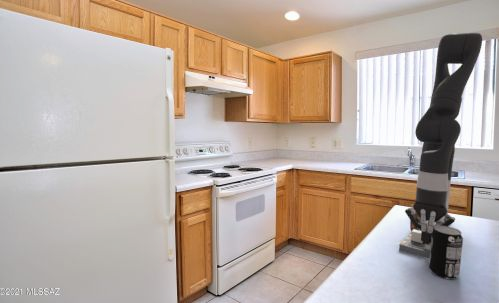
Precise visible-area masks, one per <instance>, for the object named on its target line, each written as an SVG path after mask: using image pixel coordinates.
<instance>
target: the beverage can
mask: <svg viewBox="0 0 499 303" xmlns="http://www.w3.org/2000/svg"><path fill="white" fill-rule="evenodd" d="M463 240H464V238H463V236H462V231H460V230H459V229H457V228H455V227H452V226H440V225H435V227H434V230H433V231H432V238H431V249H430V259H428V260H429V263H428V268H429V270H430V271H431V273H432V274H434V275H436V276H437V277H440V278H442V279H447V280H455V279H457V278H458V277H459V276H460V271H461V270H460V269H461V264H462V263H461V261H462V252H463V243H464V242H463Z"/></svg>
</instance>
